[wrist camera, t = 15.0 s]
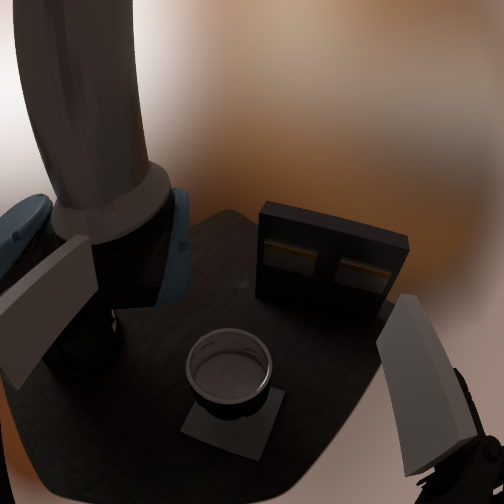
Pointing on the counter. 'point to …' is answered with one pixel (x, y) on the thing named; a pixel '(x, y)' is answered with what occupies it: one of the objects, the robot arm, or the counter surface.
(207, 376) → the beer glass
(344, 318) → the label panel
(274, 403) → the rubber mat
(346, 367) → the counter surface
